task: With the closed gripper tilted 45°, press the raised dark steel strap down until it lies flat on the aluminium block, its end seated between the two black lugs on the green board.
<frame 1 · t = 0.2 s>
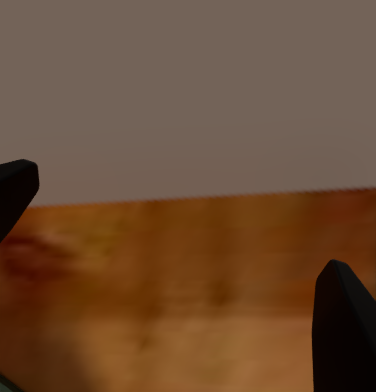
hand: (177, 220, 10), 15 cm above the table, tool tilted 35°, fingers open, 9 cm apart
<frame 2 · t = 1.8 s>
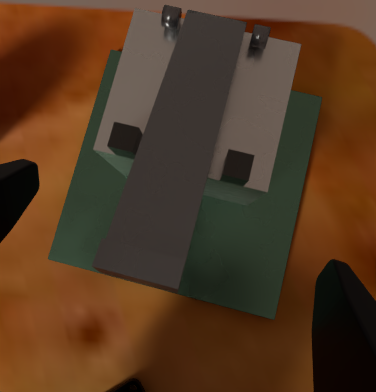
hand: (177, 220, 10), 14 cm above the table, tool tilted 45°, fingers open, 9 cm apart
retention strap: (184, 124, 14), point 10 cm above the table, hinge at 15.0°
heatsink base: (198, 139, 24), on the table
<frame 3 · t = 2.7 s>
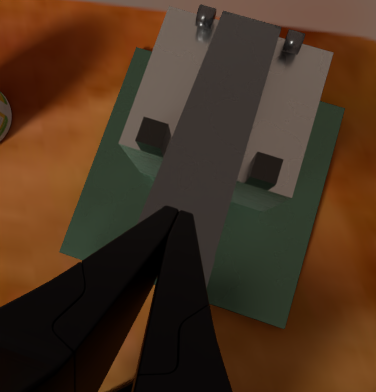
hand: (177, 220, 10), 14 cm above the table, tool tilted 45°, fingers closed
retention strap: (216, 123, 14), point 10 cm above the table, hinge at 15.0°
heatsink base: (217, 142, 24), on the table
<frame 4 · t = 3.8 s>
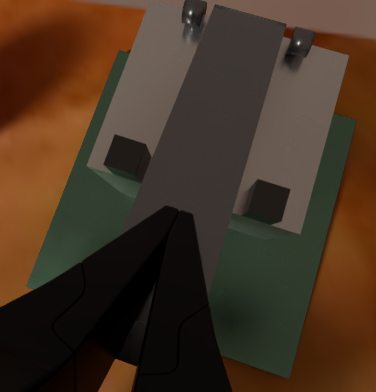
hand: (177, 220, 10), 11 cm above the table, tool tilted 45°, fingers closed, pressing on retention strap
retention strap: (203, 150, 11), point 10 cm above the table, hinge at 12.0°, touching gripper
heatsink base: (211, 158, 21), on the table
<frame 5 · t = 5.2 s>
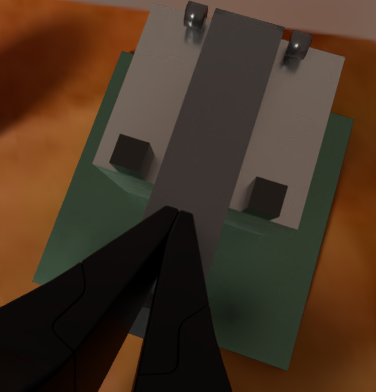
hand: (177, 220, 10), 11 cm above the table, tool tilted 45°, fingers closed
retention strap: (202, 163, 13), point 8 cm above the table, hinge at -0.2°
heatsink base: (211, 156, 21), on the table
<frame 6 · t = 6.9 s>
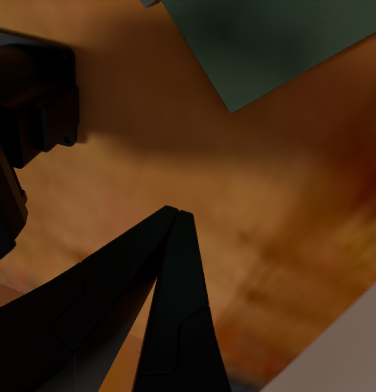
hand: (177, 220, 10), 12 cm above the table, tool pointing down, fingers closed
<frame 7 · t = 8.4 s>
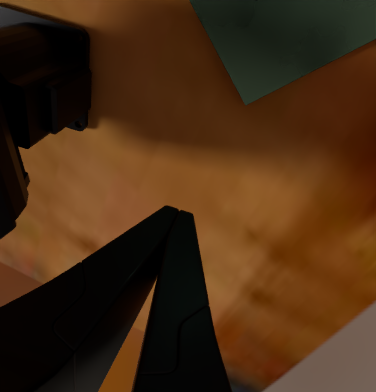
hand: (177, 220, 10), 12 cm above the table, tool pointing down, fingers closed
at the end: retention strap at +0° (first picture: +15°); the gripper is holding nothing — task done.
